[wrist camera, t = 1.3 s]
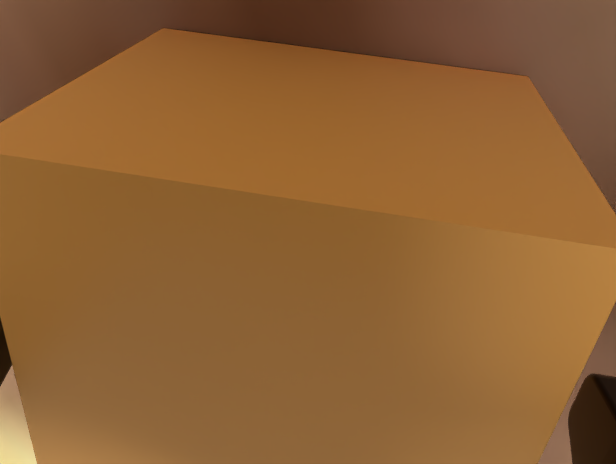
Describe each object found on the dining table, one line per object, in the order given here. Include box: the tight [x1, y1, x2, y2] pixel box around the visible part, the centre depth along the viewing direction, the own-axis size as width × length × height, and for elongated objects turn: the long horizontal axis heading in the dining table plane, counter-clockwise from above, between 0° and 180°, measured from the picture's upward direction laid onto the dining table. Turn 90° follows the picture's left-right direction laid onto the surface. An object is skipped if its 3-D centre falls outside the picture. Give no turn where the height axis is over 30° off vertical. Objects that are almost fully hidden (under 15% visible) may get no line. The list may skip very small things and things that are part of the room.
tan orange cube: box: [0, 28, 616, 464], centre depth 10 cm, size 7×7×6 cm
